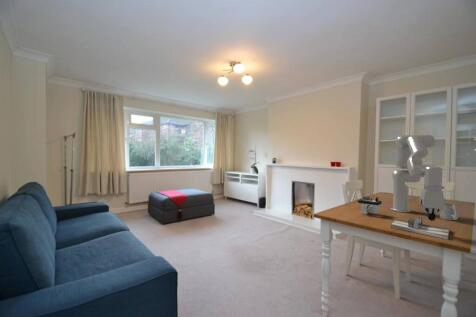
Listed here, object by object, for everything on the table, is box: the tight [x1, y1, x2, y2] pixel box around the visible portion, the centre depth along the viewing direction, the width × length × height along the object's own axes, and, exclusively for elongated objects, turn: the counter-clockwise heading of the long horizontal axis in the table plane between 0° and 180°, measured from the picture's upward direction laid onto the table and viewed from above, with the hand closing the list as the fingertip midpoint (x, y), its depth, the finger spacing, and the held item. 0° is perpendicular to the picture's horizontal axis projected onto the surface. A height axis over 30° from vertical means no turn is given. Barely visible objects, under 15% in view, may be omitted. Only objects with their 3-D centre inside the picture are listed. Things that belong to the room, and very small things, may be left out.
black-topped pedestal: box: [357, 195, 382, 215], centre depth 165 cm, size 28×26×13 cm
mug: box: [438, 203, 459, 221], centre depth 151 cm, size 8×12×12 cm, turn 176°
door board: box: [390, 217, 450, 240], centre depth 132 cm, size 18×25×6 cm
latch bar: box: [414, 216, 423, 228], centre depth 132 cm, size 13×3×4 cm, turn 133°
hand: (431, 219), depth 128 cm, fingers closed
